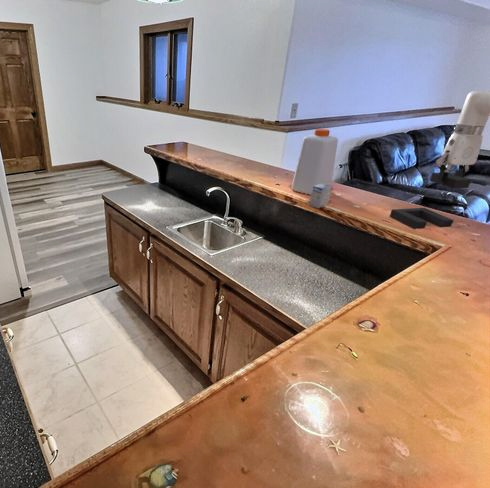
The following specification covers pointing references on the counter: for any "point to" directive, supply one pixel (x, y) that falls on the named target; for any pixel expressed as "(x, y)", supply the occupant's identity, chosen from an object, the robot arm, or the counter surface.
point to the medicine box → (320, 195)
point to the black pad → (452, 181)
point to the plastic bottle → (315, 161)
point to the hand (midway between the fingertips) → (448, 181)
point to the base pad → (412, 220)
